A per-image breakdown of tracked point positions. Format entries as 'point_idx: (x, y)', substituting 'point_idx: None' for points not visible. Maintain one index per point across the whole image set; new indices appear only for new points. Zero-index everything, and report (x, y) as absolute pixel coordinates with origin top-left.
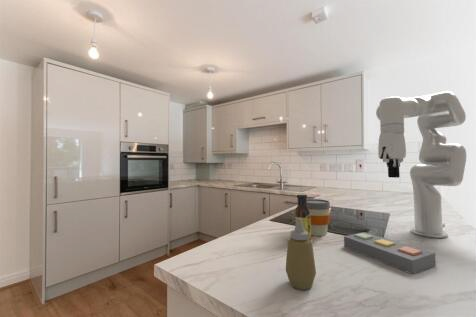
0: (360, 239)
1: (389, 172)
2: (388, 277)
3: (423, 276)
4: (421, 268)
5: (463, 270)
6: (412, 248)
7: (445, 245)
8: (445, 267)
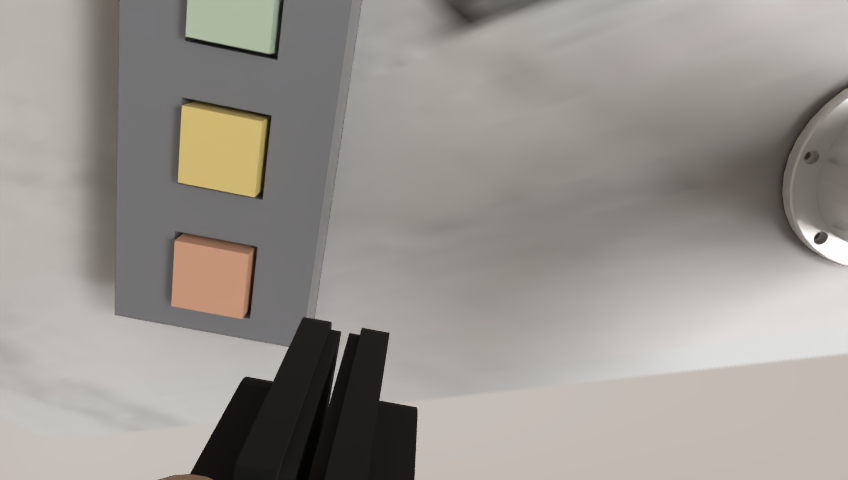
0: (168, 12)
1: (225, 411)
2: (25, 239)
3: None
4: None
5: None
6: (240, 283)
7: (666, 287)
8: None
